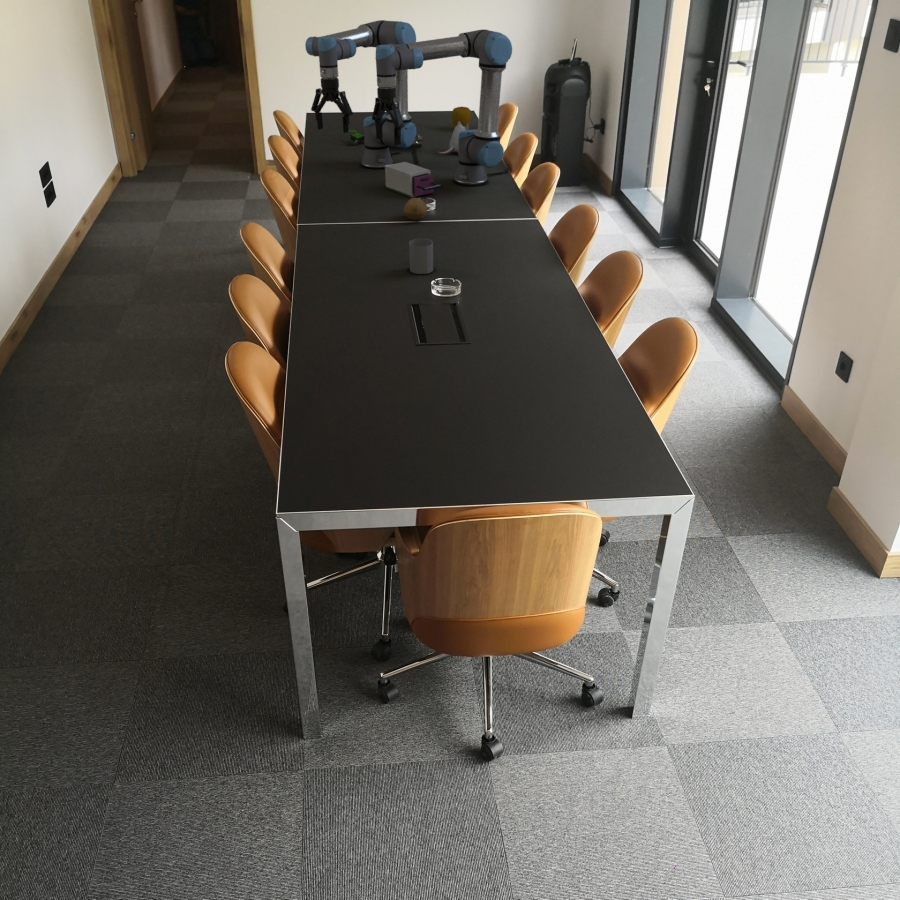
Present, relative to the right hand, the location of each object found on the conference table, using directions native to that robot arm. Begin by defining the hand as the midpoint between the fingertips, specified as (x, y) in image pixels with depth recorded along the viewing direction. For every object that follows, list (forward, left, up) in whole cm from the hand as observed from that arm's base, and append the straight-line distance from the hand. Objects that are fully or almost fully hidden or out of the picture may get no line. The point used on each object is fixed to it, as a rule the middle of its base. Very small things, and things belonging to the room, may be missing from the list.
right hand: (388, 141), depth 362 cm
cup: (+22, +79, -26) cm, 86 cm away
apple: (-90, -108, -26) cm, 143 cm away
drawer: (-16, -7, -25) cm, 30 cm away
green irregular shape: (-32, -104, -26) cm, 112 cm away
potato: (0, +26, -26) cm, 36 cm away
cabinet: (-14, -13, -26) cm, 32 cm away
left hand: (+15, -24, +1) cm, 29 cm away
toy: (-61, -61, -26) cm, 90 cm away
